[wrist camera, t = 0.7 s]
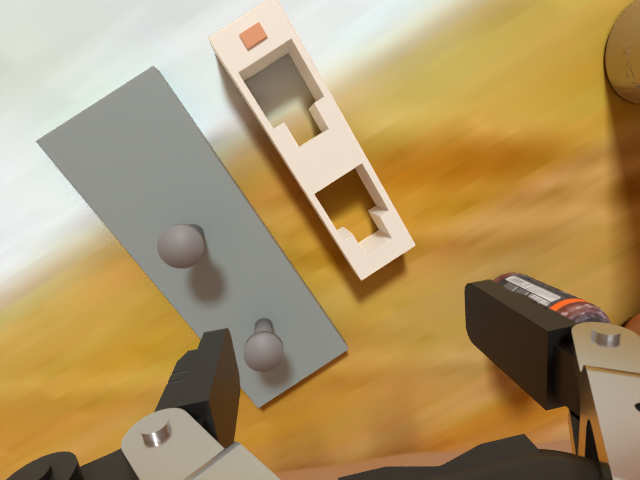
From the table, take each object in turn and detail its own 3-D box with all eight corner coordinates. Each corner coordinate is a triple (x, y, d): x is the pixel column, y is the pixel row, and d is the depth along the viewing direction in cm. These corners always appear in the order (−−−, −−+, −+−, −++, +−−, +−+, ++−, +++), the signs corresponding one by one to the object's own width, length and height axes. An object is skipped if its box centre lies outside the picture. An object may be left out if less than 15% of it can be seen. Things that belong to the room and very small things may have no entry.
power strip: (273, 14, 27) (275, -7, 24) (400, 236, 33) (416, 245, 29) (214, 52, 27) (207, 36, 24) (351, 268, 33) (361, 281, 29)
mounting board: (159, 70, 27) (129, 46, 21) (345, 341, 34) (361, 378, 28) (47, 142, 27) (-13, 137, 21) (258, 397, 34) (257, 447, 28)
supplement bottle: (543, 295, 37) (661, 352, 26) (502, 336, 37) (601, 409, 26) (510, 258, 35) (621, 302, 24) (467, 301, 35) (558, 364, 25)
